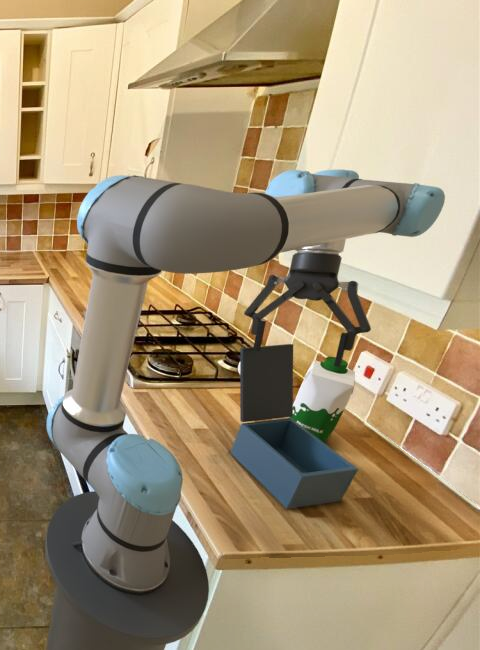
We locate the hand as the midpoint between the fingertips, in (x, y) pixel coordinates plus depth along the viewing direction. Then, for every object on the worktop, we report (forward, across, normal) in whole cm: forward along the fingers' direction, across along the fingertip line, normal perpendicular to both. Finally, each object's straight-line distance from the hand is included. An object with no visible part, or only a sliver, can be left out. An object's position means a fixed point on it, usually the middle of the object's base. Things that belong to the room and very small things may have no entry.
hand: (294, 358), depth 84 cm
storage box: (+26, -2, -4) cm, 27 cm away
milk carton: (+21, -2, -24) cm, 32 cm away
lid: (+7, +4, -5) cm, 10 cm away
